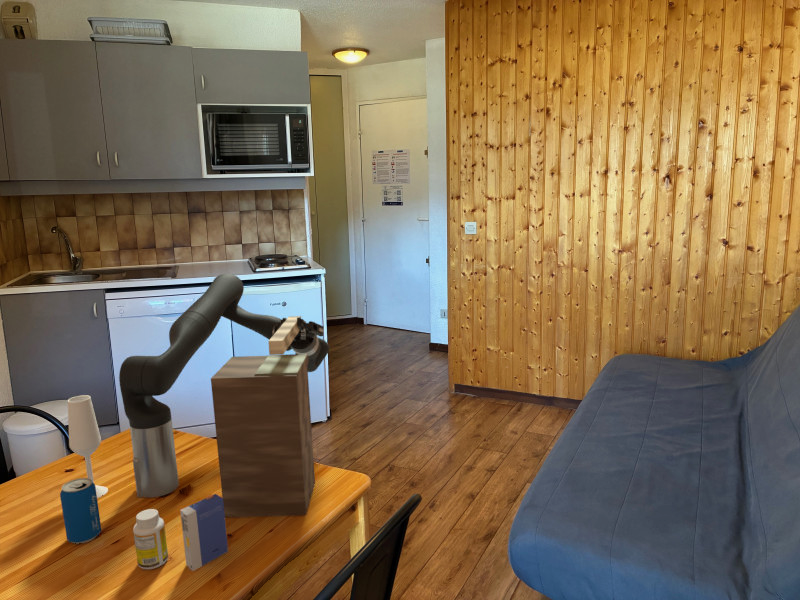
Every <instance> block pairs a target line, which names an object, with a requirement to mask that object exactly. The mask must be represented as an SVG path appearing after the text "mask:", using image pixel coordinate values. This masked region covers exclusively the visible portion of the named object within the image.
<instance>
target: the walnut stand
mask: <svg viewBox="0 0 800 600" xmlns="http://www.w3.org/2000/svg"><path fill="white" fill-rule="evenodd" d="M308 363H309V361H308V354H293V353H292V354H278V355H247V356H246V355H245V356H242V355H241V356H231V357H230V358H229V359H228V360H227V361H226V362H225V364H223V365H222V366H221V367H220V368H219V370H217V371H216V373H214V374H213V376H212V377H211V378H210V383H211V384H210V385H211V395H212V404H213V405H212V407H213V417H214V426H215V435H216V447H217V456H218V457H217V458H218V467H219V476H220V477H219V478H220V485H221V486H220V487H221V488H220V489H221V497H222V498H223V503H224V514H225V519H226V518H253V517H255V518H256V517H259V518H260V517H282V516H283V517H287V516H288V517H290V516H291V517H292V516H307V513H308V509H309V505H310V502H311V499H312V496H311V495H313V492H314V489H313V488H315V485H314V484H316V481H315V480H316V478H315V477H316V476H315V463H314V448H313V433H312V431H313V430H312V419H311V417H312V416H311V414H312V413H311V401H310V386H309V372H308V368H307V365H308Z"/></svg>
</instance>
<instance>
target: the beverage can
mask: <svg viewBox="0 0 800 600" xmlns="http://www.w3.org/2000/svg"><path fill="white" fill-rule="evenodd" d="M95 485H96V483H95V482H94V483H93V482H92V480H91V479H89V478H88V477H81V478H80V477H79V478H75V479H71V480H69V481H67V482H66V483H64V484H63V485H61V490H60V492H59V496H60V497H59V498H60V503H61V509H62V510H61V511H62V515H63V522H64V528H65V535H66V540H67V541H68V543H73V544H75V543H76V545H79V543H82V544H86V543H88V542H89V543H90V542H91V541H93V540H94V539H96V537H98V536H99V535H100V533H101V532H102V523H101V516H100V510H99V509H100V508H99V502H98V498H97V494H96V487H95Z"/></svg>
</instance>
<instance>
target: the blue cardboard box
mask: <svg viewBox="0 0 800 600" xmlns="http://www.w3.org/2000/svg"><path fill="white" fill-rule="evenodd" d="M179 511H180V519H181V528H182V529H181V531H182V536H183V545H184V546H183V547H184V554H185V555H184V556H185V564H186V566H187V567H188V569H189V570H190V571H192V572H195V570H198V569H199V568H201V567H204V566H205V565H206V564H208V563H210V562H212V561H213V560H215V559H217V558H219V557H221V556H223V555H225V554H227V553H228V552H229V546H228V537H227V526H226V518H225V514H224V503H223V498H222V496H220V495H218V494H216V493H214V494H209V495H207V496H206V497H205V498H204V499H201V500H199V501H196V502H195V503H193V504H190V505H188V506H186V507H184V508H181V509H180V510H179Z"/></svg>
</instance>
